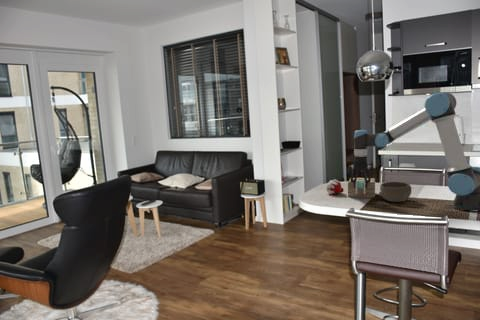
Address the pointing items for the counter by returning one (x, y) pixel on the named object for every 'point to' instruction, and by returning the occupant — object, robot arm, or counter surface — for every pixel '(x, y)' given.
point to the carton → (361, 191)
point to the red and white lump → (334, 187)
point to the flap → (362, 182)
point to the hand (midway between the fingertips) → (360, 193)
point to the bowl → (395, 191)
